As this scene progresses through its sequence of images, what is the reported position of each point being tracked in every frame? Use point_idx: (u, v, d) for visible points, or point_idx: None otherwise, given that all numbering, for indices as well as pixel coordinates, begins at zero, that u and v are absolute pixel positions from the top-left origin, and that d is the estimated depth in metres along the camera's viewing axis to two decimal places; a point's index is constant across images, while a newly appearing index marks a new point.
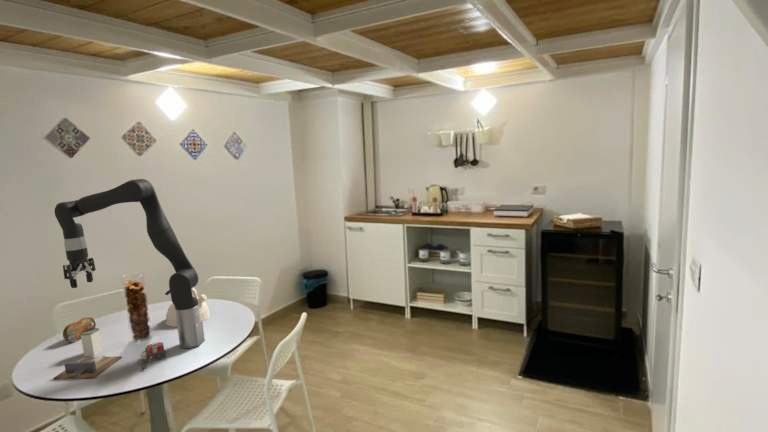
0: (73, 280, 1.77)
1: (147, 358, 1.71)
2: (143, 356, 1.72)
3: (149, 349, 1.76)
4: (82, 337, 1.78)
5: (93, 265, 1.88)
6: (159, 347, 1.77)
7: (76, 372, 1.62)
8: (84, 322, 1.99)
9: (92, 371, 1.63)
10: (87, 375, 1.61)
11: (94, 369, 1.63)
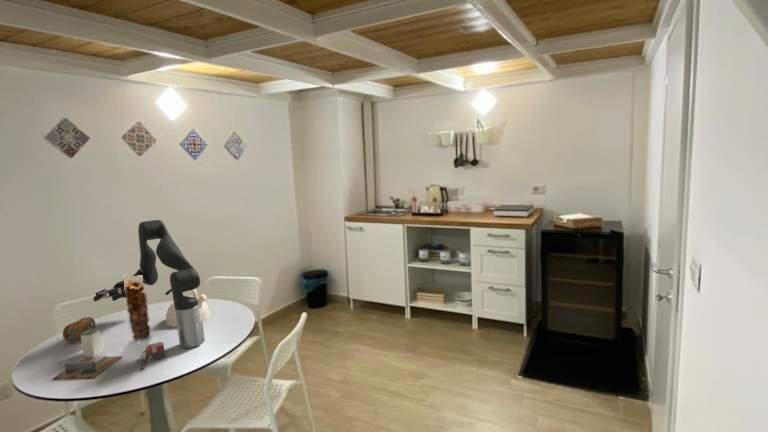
0: (97, 295, 1.92)
1: (146, 358, 1.71)
2: (142, 356, 1.72)
3: (149, 349, 1.76)
4: (82, 337, 1.78)
5: None
6: (159, 347, 1.77)
7: (76, 372, 1.62)
8: (84, 322, 1.99)
9: (92, 371, 1.63)
10: (87, 375, 1.61)
11: (94, 369, 1.63)
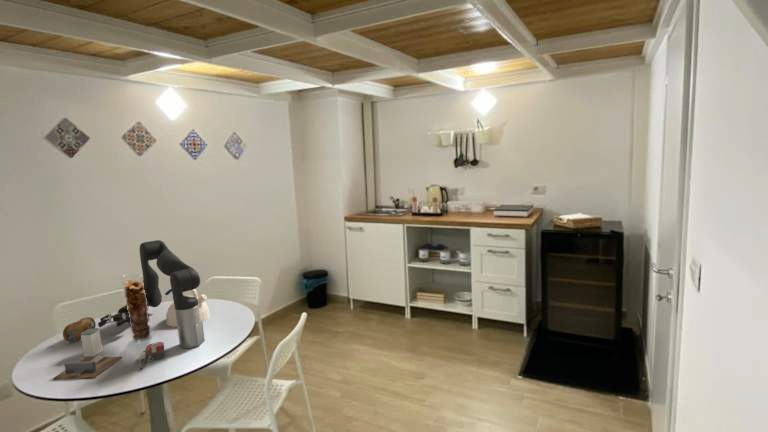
0: None
1: (146, 358, 1.71)
2: (142, 356, 1.72)
3: (149, 349, 1.76)
4: (82, 337, 1.78)
5: None
6: (159, 347, 1.77)
7: (76, 372, 1.62)
8: (84, 322, 1.99)
9: (92, 371, 1.63)
10: (87, 375, 1.61)
11: (94, 369, 1.63)
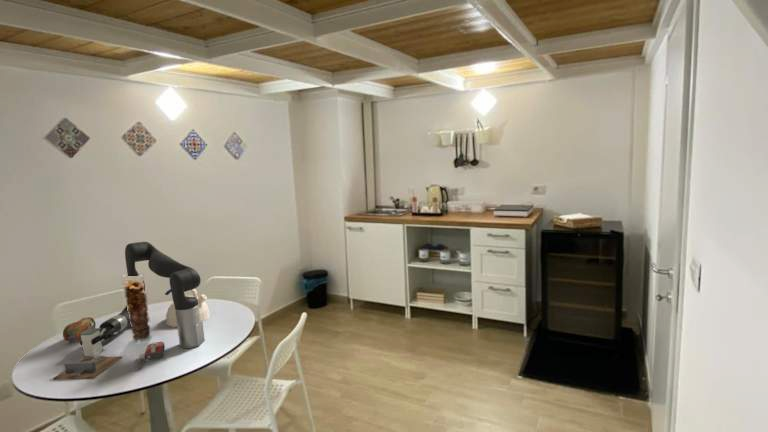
0: None
1: (145, 358, 1.71)
2: (142, 355, 1.72)
3: (149, 348, 1.76)
4: (82, 337, 1.78)
5: (109, 332, 1.84)
6: (158, 347, 1.77)
7: (76, 372, 1.62)
8: (84, 322, 1.99)
9: (92, 371, 1.63)
10: (87, 375, 1.61)
11: (94, 369, 1.63)
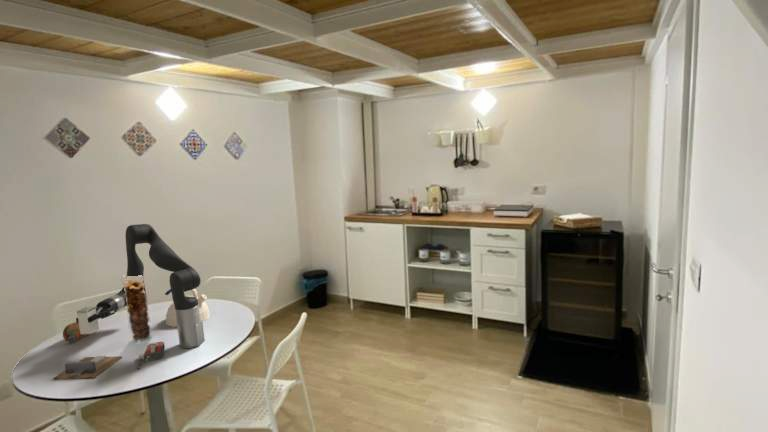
0: None
1: (144, 357, 1.71)
2: (141, 355, 1.72)
3: (148, 348, 1.77)
4: (78, 315, 1.76)
5: (105, 311, 1.82)
6: (158, 347, 1.77)
7: (76, 372, 1.62)
8: None
9: (92, 371, 1.63)
10: (87, 375, 1.61)
11: (94, 369, 1.63)
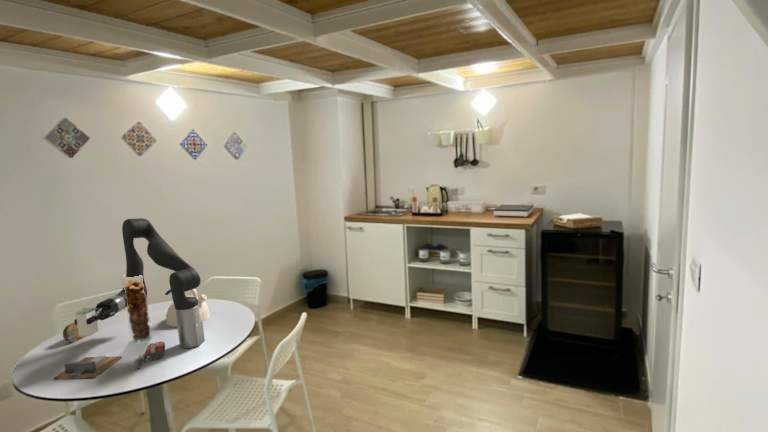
0: None
1: (144, 358, 1.71)
2: (141, 355, 1.72)
3: (149, 348, 1.77)
4: (77, 316, 1.68)
5: (105, 312, 1.75)
6: (158, 347, 1.77)
7: (76, 372, 1.62)
8: None
9: (92, 371, 1.63)
10: (87, 375, 1.61)
11: (94, 369, 1.63)
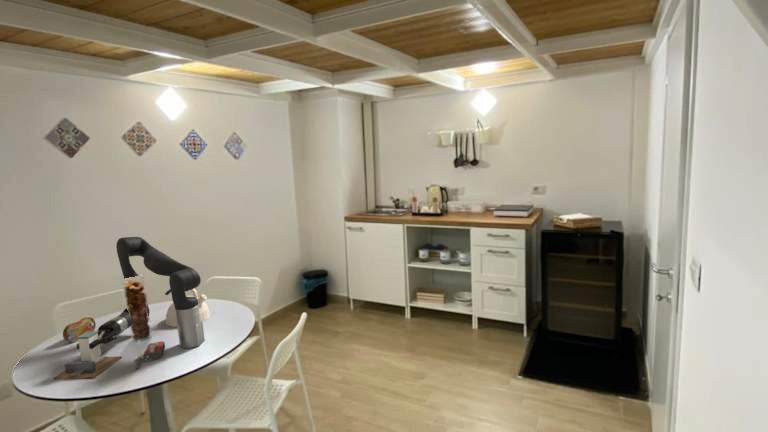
0: None
1: (144, 357, 1.71)
2: (141, 355, 1.73)
3: (148, 348, 1.77)
4: (79, 341, 1.66)
5: (108, 336, 1.72)
6: (158, 347, 1.77)
7: (76, 372, 1.62)
8: (84, 322, 1.99)
9: (92, 371, 1.63)
10: (87, 375, 1.61)
11: (94, 369, 1.63)
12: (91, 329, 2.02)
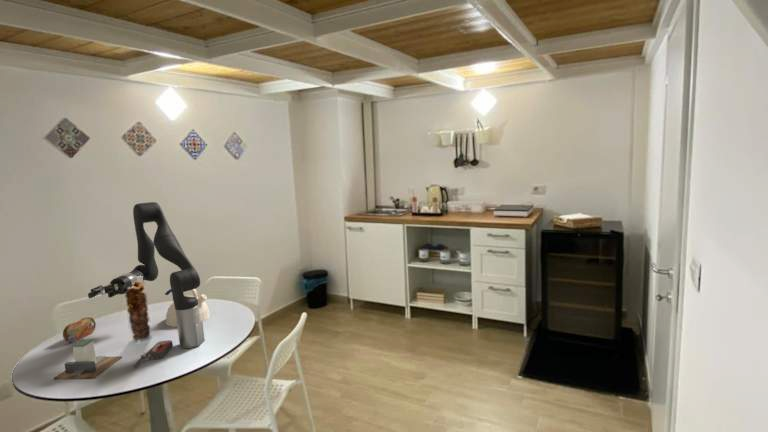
0: None
1: (146, 356, 1.73)
2: (145, 353, 1.74)
3: None
4: (74, 349, 1.63)
5: (124, 287, 1.81)
6: (163, 346, 1.78)
7: (76, 372, 1.62)
8: (84, 322, 1.99)
9: (92, 371, 1.63)
10: (87, 375, 1.61)
11: (94, 369, 1.63)
12: (91, 329, 2.02)
